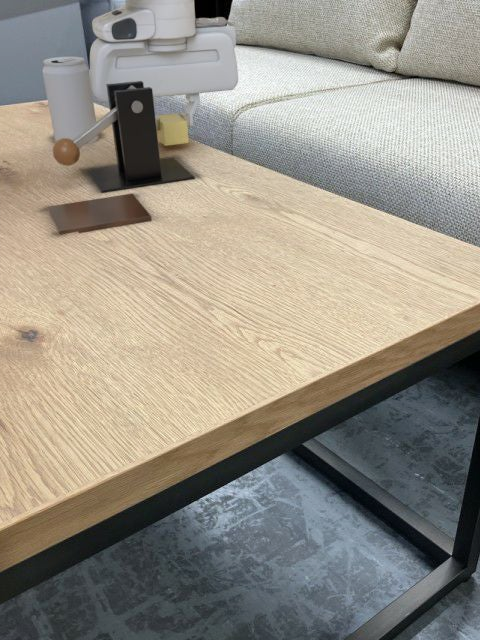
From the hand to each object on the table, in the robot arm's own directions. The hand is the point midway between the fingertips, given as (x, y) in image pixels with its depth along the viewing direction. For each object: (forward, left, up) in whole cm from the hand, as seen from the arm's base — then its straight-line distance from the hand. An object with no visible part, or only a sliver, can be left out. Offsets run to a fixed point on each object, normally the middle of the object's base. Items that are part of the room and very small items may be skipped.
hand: (170, 128), depth 100 cm
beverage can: (-12, +11, -4) cm, 16 cm away
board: (-16, -22, -4) cm, 27 cm away
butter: (0, 0, -2) cm, 2 cm away
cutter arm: (-11, -10, +2) cm, 15 cm away
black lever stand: (-8, -10, -4) cm, 13 cm away
